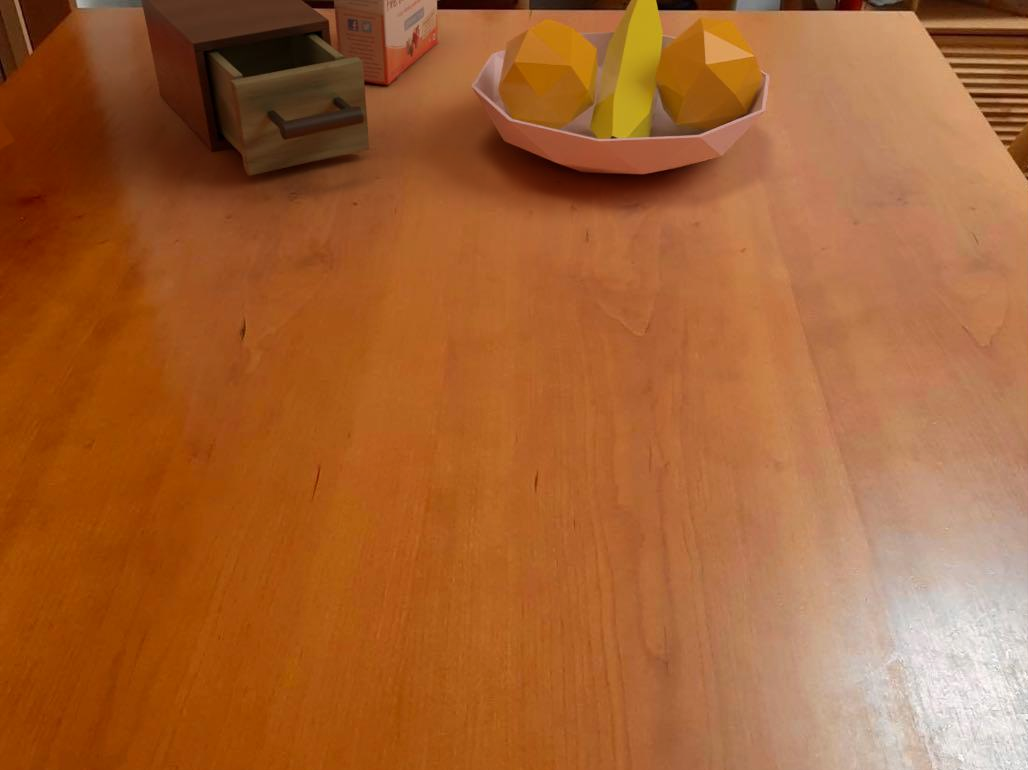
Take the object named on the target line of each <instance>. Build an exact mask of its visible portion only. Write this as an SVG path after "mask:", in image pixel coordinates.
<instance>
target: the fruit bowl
mask: <svg viewBox="0 0 1028 770" xmlns="http://www.w3.org/2000/svg"><path fill="white" fill-rule="evenodd" d="M658 8H659V7H658V3H657V0H630V1H629V3H628V5H627V7H626V9H625V11H624V13H623V14H622V17H621V19H620V21H619V23H618V24H617V27H616V29H615V30H614V31H597V32H595V31H593V32H579V31H577V30H576V29H575V28H573V27H572V26H569V25H567V24H564V23H562V22H559V21H557V20H553V19H550V18H546V19H544V20H542V21H540V22H539V23H537V24H535V25H533V26H532V27H530V28H528V29H527V30H525V31H523V32H521V33H520V34H518V35H516V36H515V37H513V38H511V39H510V40H508V41H507V42H506V46H505V49H503V50H499V51H497V52H493V53H491V54H490V56H489V58H488V59H487V61H486V62H485V64H484V65H483V67H482V68H481V70H480V72H479V73H478V75H477V77H476V78H475V79H474V81H473V82H472V84H471V85H470V87H471V89H472V90H473V92H474V94H475V96H476V97H477V99H478V100H479V102H480V104H481V105H482V107H483V109H484V110H485V112H486V114H487V115H488V117H489V118H490V120H491V121H492V123H493V125H494V126H495V129H496V130H497V132H498V134H499V135H500V137H501V138H502V140H503V141H504V142H505V143H508V144H510V145H513V146H515V147H518V148H520V149H522V150H524V151H527V152H530V153H532V154H534V155H537V156H538V157H542V158H543V159H546V160H549V161H551V162H552V163H556V164H559V165H561V166H564V167H567V168H569V169H573V170H574V171H575V170H576V171H578V172H581V173H591V174H593V173H595V174H623V175H625V174H626V175H647V174H652V173H658V172H662V171H664V172H665V171H669V170H674V169H677V168H678V169H679V168H683V167H686V166H689V165H693V164H698V163H701V162H704V161H708V160H713V159H716V158H719V157H723V156H724V155H725V154H726V153H727V152H728V151H729V150H730V149H731V148H732V146H734V145H735V144H736V142H738V141H739V140H740V139H741V138H742V137H743V136H744V135H745V134H746V133H747V131H748V130H749V129H751V128H752V126H753V125H754V124H755V123H756V122H757V121H758V120H759V118H760V117H761V116H762V115H763V114H764V113H765V112H766V108H767V102H768V101H767V100H768V94H769V86H770V77H771V75H770V74H768V73H767V72H765V71H764V70H761V69H760V66H759V63H758V60H757V58H756V54H755V53H754V52H753V50H752V49H751V48H750V46H749V44H748V43H747V41H746V40H745V39H744V36H743V35H742V33H741V32H740V31H739V29H738V27H737V25H736V24H735V23H734V21H733V20H731V19H720V18H711V17H699V19H697V20H696V21H694V22H693V24H691V25H690V26H689V27H688V28H686V29H685V30H683V32H682V33H681V34H679V35H678V36H677V37H676V36H672V35H671V36H670V35H665V34H664V32H663V27H662V22H661V18H660V12H659V9H658Z"/></svg>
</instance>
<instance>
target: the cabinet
mask: <svg viewBox="0 0 1028 770" xmlns="http://www.w3.org/2000/svg"><path fill="white" fill-rule="evenodd" d="M141 5H142V9H143V14H144V21H145V25H146V29H147V34H148V40H149V45H150V50H151V55H152V60H153V65H154V70H155V75H156V80H157V84H158V90H159V91H158V92H159V95H160V97H161V98H162V99H163V100H164V101H165V102H166V103H167V104H168V106H170V108H171V109H172V110H173V111H174V112H175V113H176V114H177V115H178V117H180V118H181V119H182V121H183V122H184V123H185V124H186V125H187V126H188V127H189V128H190V130H192V132H193V133H194V134H195V135H196V136H197V138H199V139H200V140H201V141H202V142H203V144H204V145H205V146H206V147H207V148H208V149H209V150H210V151H211V152H217V151H222V150H227V149H231V148H235V147H234V146H233V145H232V144H231V143H230V142H229V141H228V140H227V139H226V138H225V137H224V136H223V135H222V134H221V133H220V132H219V130H218V129H217V128H216V123H215V117H214V111H213V105H212V99H211V94H210V88H209V82H208V76H207V70H206V64H205V58H204V51H209V50H215V49H220V48H226V47H232V46H237V45H243V44H248V43H254V42H260V41H265V40H271V39H277V38H282V37H288V36H293V35H299V34H305V33H310V32H313V33H314V34H316V35H317V36H318V37H319V38H321V39H322V40H323V41H325V42H326V43H327V44H329V45H330V46H331V47H332V39H331V31H330V29H331V27H330V20H329V19H328V18H327V17H325V16H324V15H322V14H321V13H320V12H319V11H317V10H316V9H315V8H313V7H311V6H310V5H309V4H308V3H306V2H305V1H303V0H141Z"/></svg>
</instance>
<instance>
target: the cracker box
mask: <svg viewBox="0 0 1028 770" xmlns="http://www.w3.org/2000/svg"><path fill="white" fill-rule="evenodd" d="M333 6H334V15H335V16H334V19H335V29H336V30H335V31H336V41H337V51H338V52H339V53H340V54H342V55H343V59H346V58H352V57H358V58H359V59H361V60H362V63H363V75H364V83H371V84H376V85H377V84H378V85H385V86H389V85H390V84H391V83H393V82H394V81H395V80H396V79H397V78H398V77H399V76H400V75H401V74H403V73H404V72H406V70H407V69H408V68H410V67H411V66H413V65H414V63H415V62H417V61H418V60H419V59H420V58H421V57H423V56H424V55H425V54H426V53H427V52H428V51H429V50H431V49H432V48H433V47H435V45H437V44H438V42H439V31H438V0H333Z"/></svg>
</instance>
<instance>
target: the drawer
mask: <svg viewBox="0 0 1028 770" xmlns="http://www.w3.org/2000/svg"><path fill="white" fill-rule="evenodd" d="M204 58H205V64H206V70H207V76H208V82H209V88H210V94H211V99H212V105H213V111H214V117H215V123H216V128H217V129H218V130H219V132H220V133H221V134H222V135H223V136H224V137H225V138H226V139H227V140H228V141H229V142H230V143H231V144H232V145H233V146H234V147H233V148H234V149H235V150H237V152H238V153H239V154H240V155H241V157H242V163H243V164H242V165H243V170H244V171H245V173H246V175H248V176H253V175H259V174H263V173H268V172H273V171H277V170H281V169H285V168H289V167H294V166H300V165H303V164H308V163H312V162H317V161H322V160H325V159H331V158H334V157H339V156H343V155H349V154H352V153H357V152H361V151H367V150H370V137H369V123H368V114H367V113H368V112H367V100H366V89H365V82H364V75H363V63H362V60H361V59H359V58H358V57H352V58H346V59H343V55H342V54H340V53H339V52H338V50H336V49H335V48H334V47H333V46H332V45H331V46H330V45H329V44H327V43H326V42H325V41H323V40H322V39H321V38H319V37H318V36H317V35H316V34H314V33H313V32H310V33H305V34H299V35H293V36H288V37H282V38H277V39H271V40H265V41H260V42H254V43H248V44H243V45H237V46H232V47H226V48H220V49H215V50H209V51H204Z"/></svg>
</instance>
